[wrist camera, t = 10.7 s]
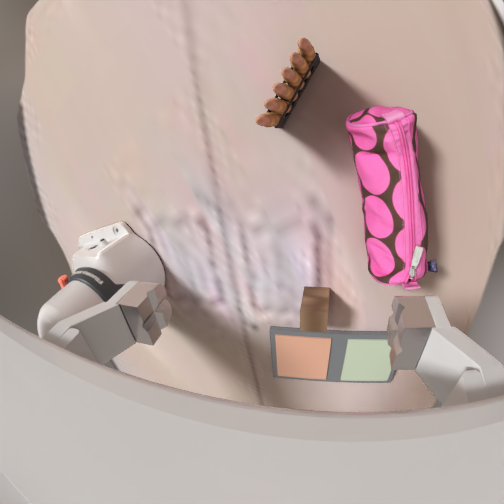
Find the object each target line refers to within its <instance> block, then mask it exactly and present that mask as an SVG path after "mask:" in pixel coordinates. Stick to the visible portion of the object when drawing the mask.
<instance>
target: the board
mask: <svg viewBox="0 0 504 504" xmlns="http://www.w3.org/2000/svg"><path fill="white" fill-rule="evenodd" d="M270 340H271V352H272V365H273V377H279V378H289V379H300V380H313V381H329V382H357V383H388V382H391V380H392V377H393V375H394V372H395V370H391V364H390V357H389V354H390V350H391V347H390V346H389V345H388V342H387V331H341V330H327V332H309V331H300V328H288V327H276V326H271V327H270Z"/></svg>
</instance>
